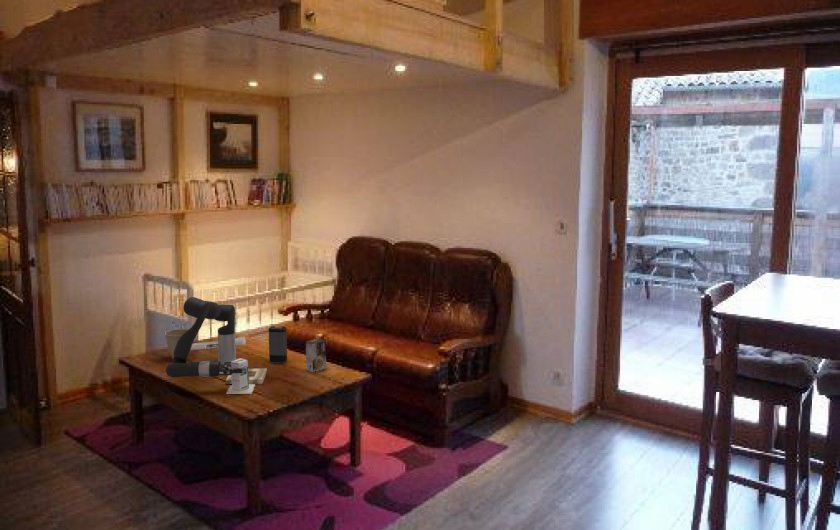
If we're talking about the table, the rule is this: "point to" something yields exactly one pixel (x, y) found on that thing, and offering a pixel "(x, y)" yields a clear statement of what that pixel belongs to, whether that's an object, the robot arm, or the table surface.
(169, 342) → the plant pot
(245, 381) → the syrup box
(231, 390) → the ceramic tile
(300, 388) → the table surface
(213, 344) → the newspaper
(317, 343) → the coffee box
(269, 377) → the table surface
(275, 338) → the electronic device
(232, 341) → the robot arm
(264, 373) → the cream square board
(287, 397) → the table surface
